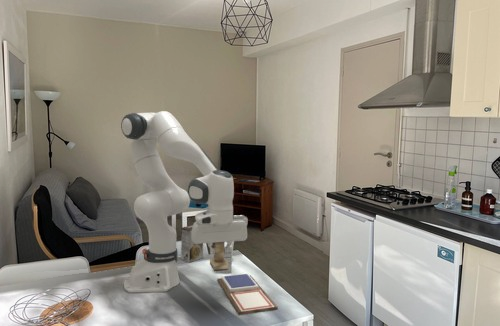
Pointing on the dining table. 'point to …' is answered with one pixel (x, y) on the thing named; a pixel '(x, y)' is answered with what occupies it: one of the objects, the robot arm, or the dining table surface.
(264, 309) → the stamping board
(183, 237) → the coffee box
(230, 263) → the supplement box
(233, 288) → the ink pad
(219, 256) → the wooden stamp
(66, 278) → the dining table surface
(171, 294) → the dining table surface
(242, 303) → the sheet
